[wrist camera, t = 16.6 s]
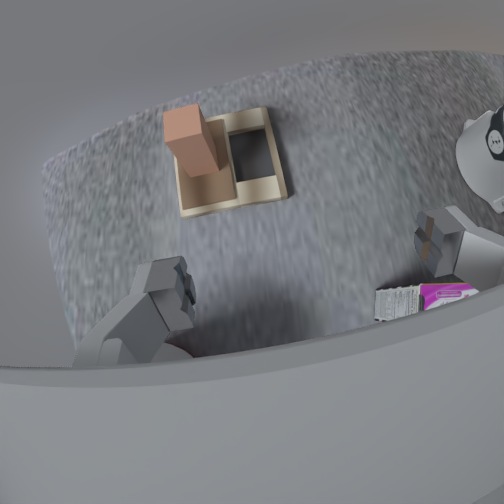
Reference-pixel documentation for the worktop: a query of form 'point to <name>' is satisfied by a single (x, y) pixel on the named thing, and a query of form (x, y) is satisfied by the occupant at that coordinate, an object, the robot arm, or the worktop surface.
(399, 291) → the candy bar box
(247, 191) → the hole board
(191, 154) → the terracotta block
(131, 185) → the worktop surface
